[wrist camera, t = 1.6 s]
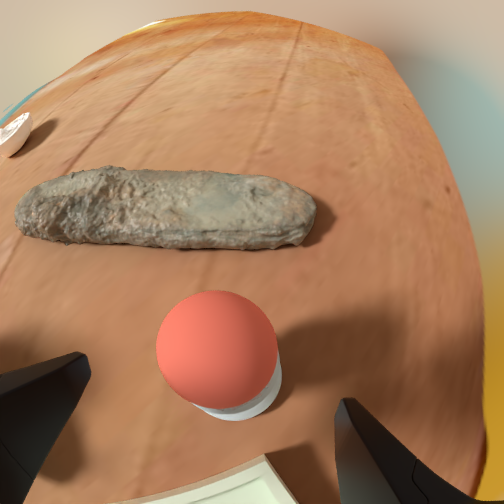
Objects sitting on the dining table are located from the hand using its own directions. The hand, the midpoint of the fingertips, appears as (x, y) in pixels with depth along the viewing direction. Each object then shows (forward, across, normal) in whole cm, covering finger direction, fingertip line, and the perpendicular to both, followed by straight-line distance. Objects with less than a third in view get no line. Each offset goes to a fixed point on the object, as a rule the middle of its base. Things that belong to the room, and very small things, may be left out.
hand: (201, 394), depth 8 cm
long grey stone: (+18, +12, -2) cm, 22 cm away
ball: (+2, 0, 0) cm, 2 cm away
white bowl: (+30, +50, -14) cm, 60 cm away
